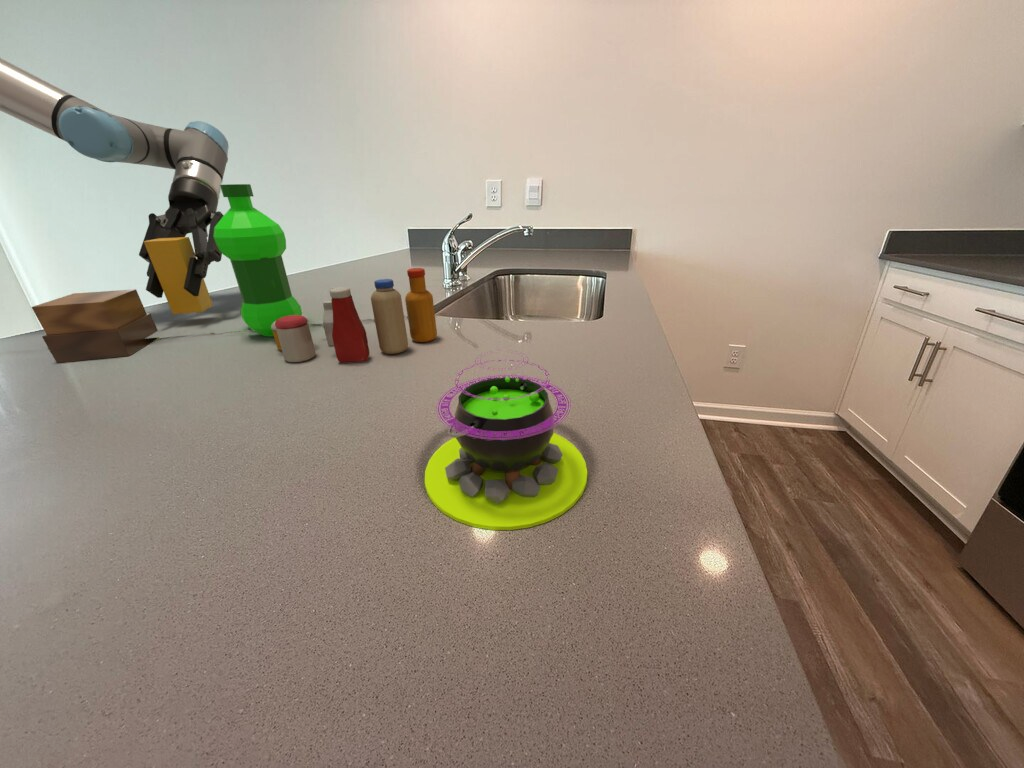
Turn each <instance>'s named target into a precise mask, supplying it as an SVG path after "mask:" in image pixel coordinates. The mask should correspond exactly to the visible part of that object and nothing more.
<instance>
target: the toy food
mask: <svg viewBox="0 0 1024 768" xmlns="http://www.w3.org/2000/svg"><path fill="white" fill-rule="evenodd" d="M406 272H407V277H408V282H409V288H410V291H408V292H407V293H406V295H405V297H404V302H405V308H406V315H407V321H408V322H407V323H408V327H409V328H408V329H409V335H410V338H411V340H413V341H414V342H417V343H428V342H431V341H434V340H435V339H436V338H437V336H438V329H437V321H436V312H435V306H434V305H435V303H434V298H433V294H432V293H431V292H430V291H429V290H427V286H426V277H425V276H426V271H425V268H422V267H412V268H408V269H407V271H406ZM373 283H374V288H375V290H374V291H373V292H372V293H371V296H370V302H371V307H372V313H373V318H374V325H375V329H376V335H377V340H378V347H379V349H380V351H381V352H382V353H384V354H387V355H396V354H397V355H398V354H400V353H403V352H405V351H406V350H407V349H408V347H409V340H408V333H407V327H406V320H405V314H404V307H403V301H402V295H401V293H400V291H398V290H397V289H395V288H394V286H395V284H394V280H393V279H391V278H380V279H376V280H374V281H373ZM329 294H330V296H329V297H330V298H331V300H325V301H323V302H322V305H323V317H322V326H323V330H324V335H325V338H326V342H327V345H328V346H332V347H334V352H335V355H336V359H337V361H338V362H339V363H343V364H346V363H347V364H348V363H349V364H350V363H351V364H352V363H364V362H366V361H367V360H368V359H369V357H370V348H369V341H368V336H367V331H366V328H365V326H364V324H363V322H362V320H361V317H360V316H359V313H358V311H357V309H356V306H355V302H354V299H353V296H352V293H351V288H350V287H346V286H344V287H343V286H341V287H334V288H331V289H329ZM308 322H309V320H308V319H307V318H306V317H305V316H304V315H289V316H284V317H281V318H279V319H278V320H276V321H275V322H273V323H272V325H271V329H272V331H273V335H274V336H273V338H274V341H275V345H276V348H277V349H278V350H279V351H281V352H282V355H283V358H284V360H285V362H288V363H301V362H305V361H309V360H311V359H313V358H314V357H315V356H316V354H317V353H316V349H315V344H314V341H313V337H312V333H311V328H310V325H309V323H308Z"/></svg>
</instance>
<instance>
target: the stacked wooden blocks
mask: <svg viewBox="0 0 1024 768" xmlns="http://www.w3.org/2000/svg"><path fill="white" fill-rule="evenodd" d="M31 310H32V311H33V313H34V315H35V316H36V318H37V320H38V322H39V324H40V325H41V327H42V329H43V331H44V333H45V335H42V336H41V338H42V339H43V341H44V343H45V345H46V347H47V348H48V350H49V352H50V353H51V355H52V357H53V359H54V361H55V363H56V364H61V363H62V364H63V363H71V362H72V363H73V362H80V361H81V362H82V361H83V362H84V361H92V360H103V359H113V358H122V357H130V356H132V355H133V354H135V353H136V352H139V351H140V350H141V349H143V348H145V347H146V346H148V345H150V344H151V343H153V342H154V341H156V340H158V339H159V338H160V337H158V336H157V337H150V336H151V335H153V334H155V333H157V332H158V331H159V330H158V328H157V325H156V323H155V320H154V318H153V316H152V313H147V311H146V309H145V307H144V304H143V302H142V300H141V297H140V295H139V292H138V290H137V289H136V288H134V289H119V290H104V291H103V290H102V291H89V292H75V293H71V294H67V295H64V296H61V297H58V298H55V299H52V300H49V301H46V302H42V303H40V304H36V305H34V306H31Z"/></svg>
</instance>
